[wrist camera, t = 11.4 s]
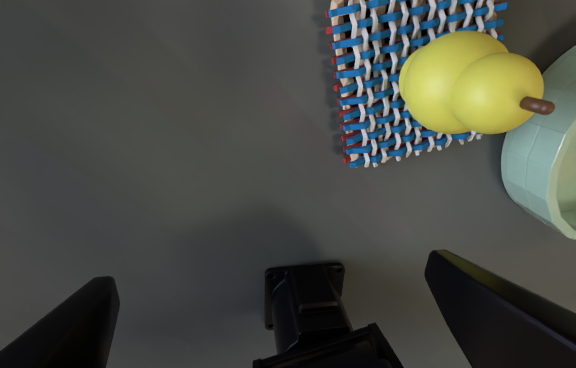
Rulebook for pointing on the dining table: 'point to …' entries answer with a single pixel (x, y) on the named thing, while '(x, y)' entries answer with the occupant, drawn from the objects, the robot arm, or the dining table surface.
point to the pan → (547, 153)
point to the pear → (471, 85)
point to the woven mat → (393, 70)
